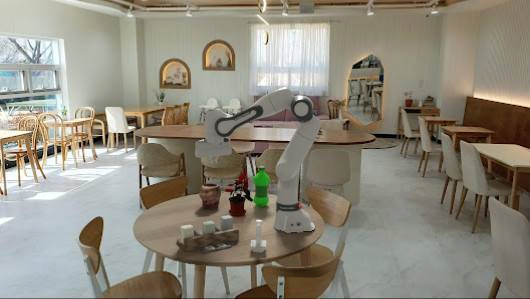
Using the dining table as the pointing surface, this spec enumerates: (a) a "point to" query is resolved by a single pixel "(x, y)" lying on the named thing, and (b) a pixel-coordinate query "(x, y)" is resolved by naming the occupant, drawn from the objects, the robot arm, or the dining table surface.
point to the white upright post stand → (258, 239)
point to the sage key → (208, 227)
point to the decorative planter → (210, 195)
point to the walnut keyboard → (210, 240)
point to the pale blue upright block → (226, 222)
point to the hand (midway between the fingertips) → (213, 164)
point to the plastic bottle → (261, 187)
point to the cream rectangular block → (187, 232)
